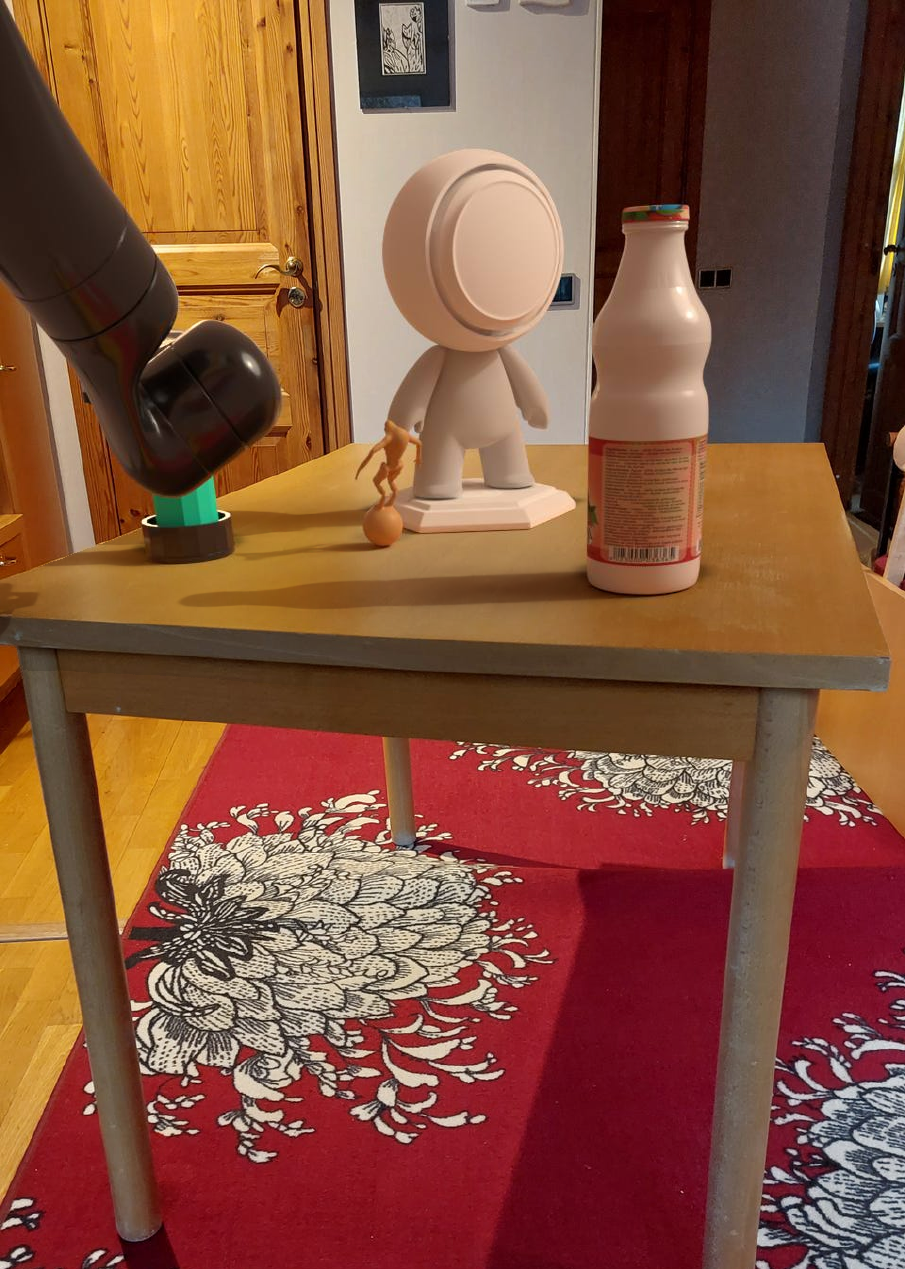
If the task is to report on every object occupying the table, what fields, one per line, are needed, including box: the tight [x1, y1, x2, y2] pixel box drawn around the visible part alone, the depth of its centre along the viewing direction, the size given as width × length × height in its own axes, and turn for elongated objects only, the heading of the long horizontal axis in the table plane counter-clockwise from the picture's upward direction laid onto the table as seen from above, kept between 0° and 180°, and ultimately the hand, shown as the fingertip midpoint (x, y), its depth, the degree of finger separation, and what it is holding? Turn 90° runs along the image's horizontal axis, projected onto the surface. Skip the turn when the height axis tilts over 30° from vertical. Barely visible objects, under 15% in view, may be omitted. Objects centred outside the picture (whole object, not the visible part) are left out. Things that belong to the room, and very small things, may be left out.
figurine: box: [354, 419, 422, 547], centre depth 107 cm, size 8×6×12 cm
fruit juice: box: [586, 204, 712, 595], centre depth 87 cm, size 9×9×28 cm
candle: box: [152, 476, 219, 526], centre depth 107 cm, size 6×6×12 cm
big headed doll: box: [372, 148, 577, 534], centre depth 116 cm, size 20×23×35 cm
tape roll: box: [140, 509, 236, 565], centre depth 109 cm, size 9×9×4 cm
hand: (168, 371), depth 93 cm, fingers open, 8 cm apart
